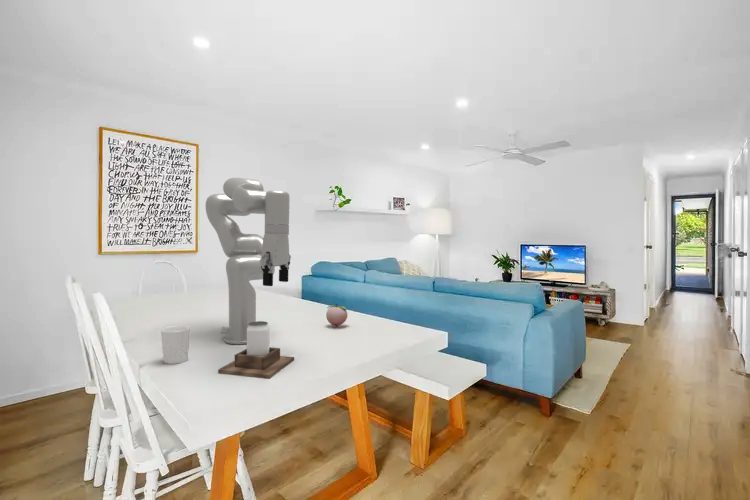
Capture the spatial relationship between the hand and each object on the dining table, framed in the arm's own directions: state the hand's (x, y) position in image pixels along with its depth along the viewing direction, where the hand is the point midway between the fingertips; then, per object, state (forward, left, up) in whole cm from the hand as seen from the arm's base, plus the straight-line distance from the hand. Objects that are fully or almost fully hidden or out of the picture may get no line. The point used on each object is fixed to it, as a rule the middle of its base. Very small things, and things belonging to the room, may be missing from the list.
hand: (275, 283), depth 125 cm
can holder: (-1, -9, -24) cm, 26 cm away
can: (-1, -9, -23) cm, 25 cm away
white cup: (-28, -11, -24) cm, 39 cm away
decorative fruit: (+6, +44, -24) cm, 50 cm away
